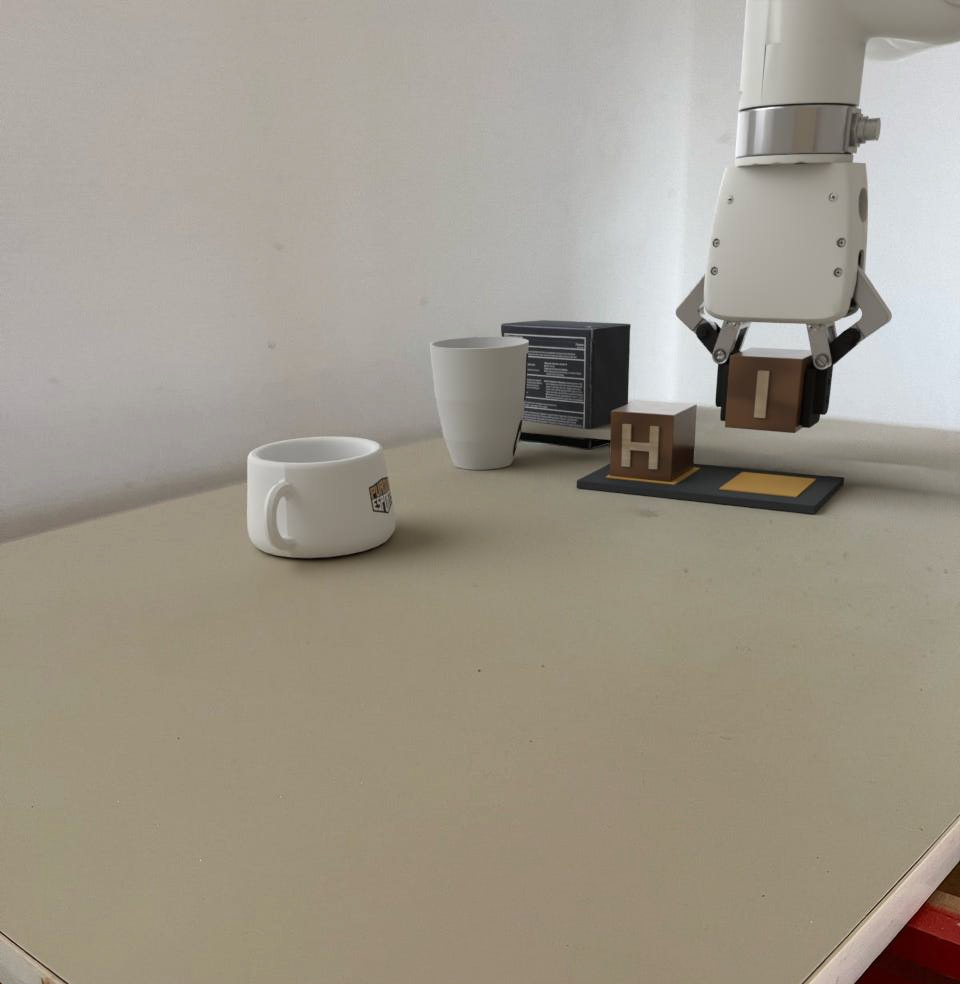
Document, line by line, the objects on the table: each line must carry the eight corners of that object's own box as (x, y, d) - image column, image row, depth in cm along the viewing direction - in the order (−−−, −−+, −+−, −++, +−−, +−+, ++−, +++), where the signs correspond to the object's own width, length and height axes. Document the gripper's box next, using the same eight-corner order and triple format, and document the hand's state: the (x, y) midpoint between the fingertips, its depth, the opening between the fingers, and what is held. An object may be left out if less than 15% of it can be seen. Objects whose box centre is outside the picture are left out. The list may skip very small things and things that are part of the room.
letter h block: (693, 468, 81) (696, 404, 79) (669, 482, 77) (672, 415, 75) (634, 462, 83) (636, 400, 81) (608, 476, 79) (609, 411, 77)
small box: (632, 439, 95) (635, 321, 91) (590, 451, 91) (592, 328, 87) (542, 427, 102) (542, 316, 98) (499, 438, 97) (497, 323, 93)
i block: (812, 421, 75) (820, 350, 73) (794, 433, 71) (801, 359, 69) (745, 415, 77) (751, 347, 75) (723, 427, 73) (728, 355, 71)
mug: (291, 516, 74) (283, 432, 71) (417, 523, 71) (413, 436, 69) (201, 568, 63) (188, 471, 61) (345, 579, 60) (337, 479, 58)
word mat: (843, 485, 78) (844, 475, 77) (814, 514, 70) (815, 504, 70) (622, 463, 86) (622, 455, 86) (576, 488, 79) (576, 479, 79)
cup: (545, 467, 86) (544, 343, 82) (454, 478, 83) (449, 350, 79) (507, 449, 93) (505, 334, 89) (422, 459, 90) (416, 340, 86)
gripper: (943, 138, 66) (903, 422, 73) (689, 150, 74) (675, 404, 81) (924, 131, 60) (883, 441, 67) (650, 145, 68) (639, 420, 75)
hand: (769, 418), depth 74 cm, fingers closed on i block, 5 cm apart
